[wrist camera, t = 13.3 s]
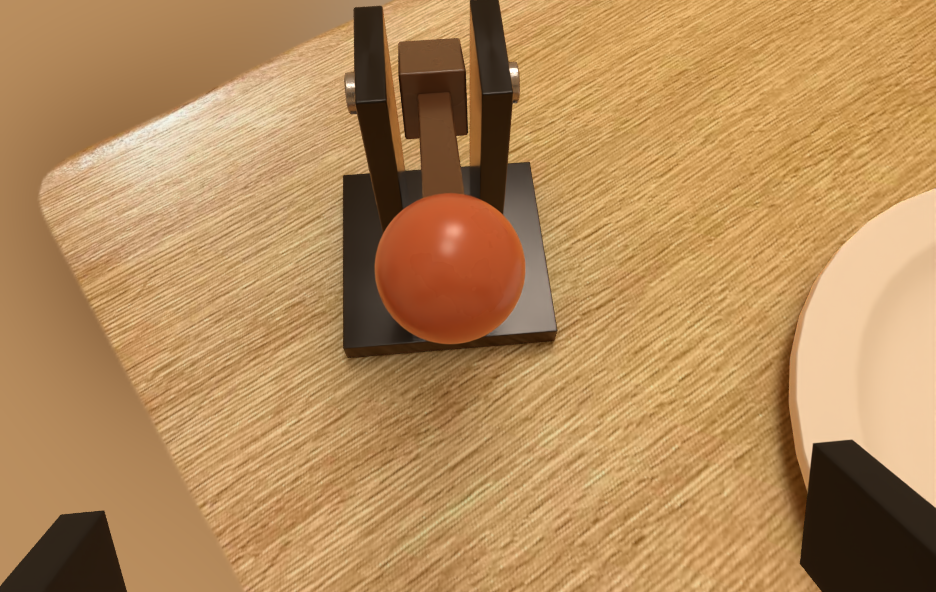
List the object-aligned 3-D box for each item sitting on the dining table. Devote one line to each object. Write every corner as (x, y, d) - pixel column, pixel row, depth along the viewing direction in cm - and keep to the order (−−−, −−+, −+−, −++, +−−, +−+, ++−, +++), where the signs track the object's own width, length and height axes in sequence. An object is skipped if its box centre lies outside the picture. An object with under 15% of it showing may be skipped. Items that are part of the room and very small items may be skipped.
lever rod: (533, 368, 16) (540, 250, 13) (383, 381, 16) (362, 264, 13) (480, 113, 25) (478, 18, 23) (387, 120, 25) (376, 24, 23)
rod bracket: (554, 341, 32) (608, 157, 19) (347, 358, 31) (268, 181, 19) (528, 175, 36) (558, -59, 24) (346, 188, 36) (283, -43, 24)
